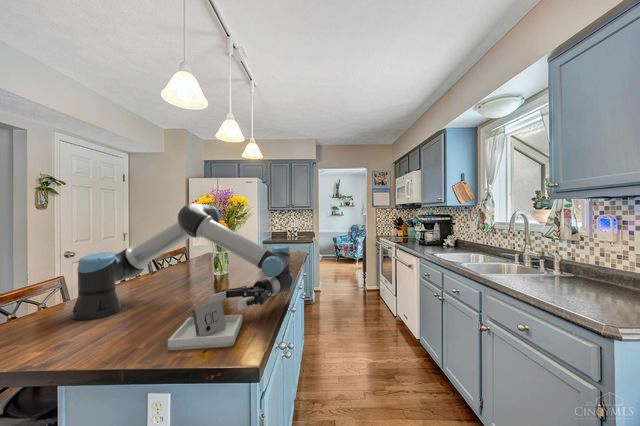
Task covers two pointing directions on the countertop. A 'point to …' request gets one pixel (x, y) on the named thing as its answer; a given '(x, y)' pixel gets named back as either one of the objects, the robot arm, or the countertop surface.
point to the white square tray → (189, 339)
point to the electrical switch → (209, 318)
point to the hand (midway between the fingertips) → (223, 302)
